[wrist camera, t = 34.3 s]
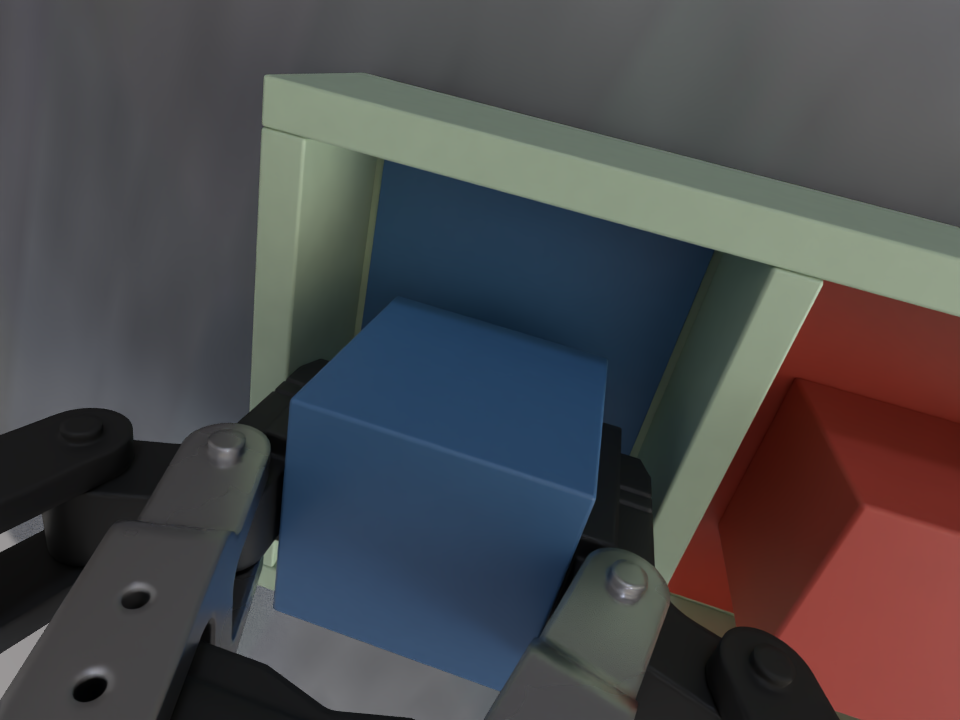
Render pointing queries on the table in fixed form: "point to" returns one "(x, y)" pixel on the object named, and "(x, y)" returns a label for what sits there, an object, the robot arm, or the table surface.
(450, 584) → the blue block
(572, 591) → the robot arm
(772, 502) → the red block
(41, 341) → the table surface
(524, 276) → the sorting tray
